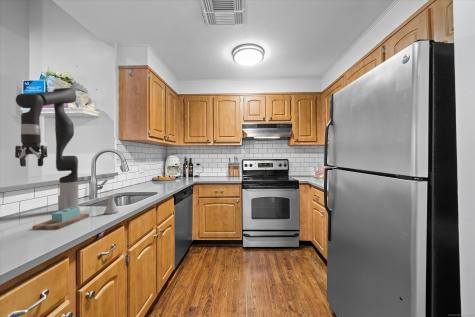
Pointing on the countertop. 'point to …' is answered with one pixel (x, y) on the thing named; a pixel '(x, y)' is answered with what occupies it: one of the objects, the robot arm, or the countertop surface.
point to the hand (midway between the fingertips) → (31, 166)
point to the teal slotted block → (65, 214)
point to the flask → (111, 206)
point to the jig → (59, 223)
